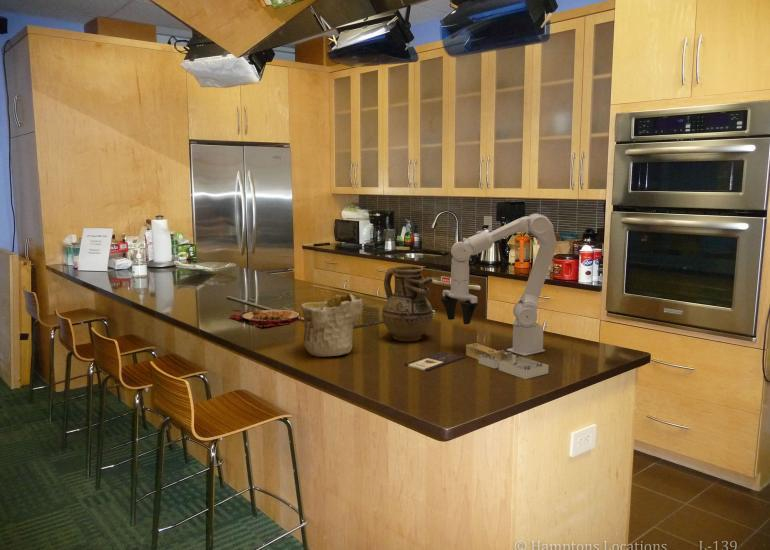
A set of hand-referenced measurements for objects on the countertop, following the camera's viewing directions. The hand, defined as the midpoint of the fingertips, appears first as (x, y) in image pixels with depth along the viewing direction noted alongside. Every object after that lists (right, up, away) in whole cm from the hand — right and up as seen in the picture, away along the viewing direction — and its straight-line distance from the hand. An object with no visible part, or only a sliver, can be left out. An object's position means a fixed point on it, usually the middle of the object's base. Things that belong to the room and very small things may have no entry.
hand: (458, 321), depth 200 cm
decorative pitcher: (-16, -7, +18) cm, 25 cm away
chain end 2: (+16, -13, -21) cm, 29 cm away
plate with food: (-69, -4, +52) cm, 87 cm away
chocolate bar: (-8, -12, -10) cm, 18 cm away
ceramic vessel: (-43, -10, +3) cm, 44 cm away
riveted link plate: (+7, -11, -7) cm, 15 cm away
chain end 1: (+10, -12, -12) cm, 20 cm away
